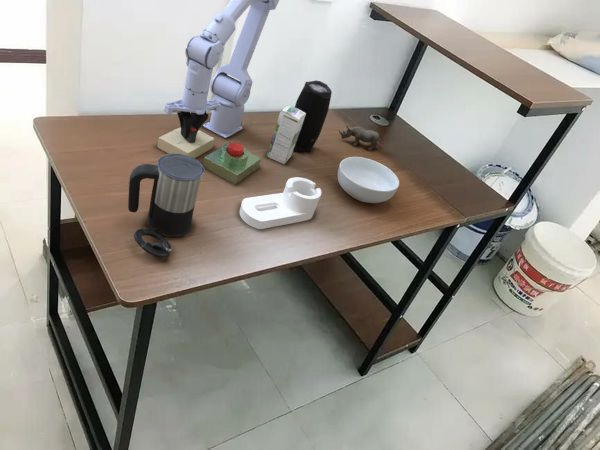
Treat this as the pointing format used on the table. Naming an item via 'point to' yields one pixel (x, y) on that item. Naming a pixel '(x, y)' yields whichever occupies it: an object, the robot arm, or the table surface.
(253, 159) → the push button base
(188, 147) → the dial panel
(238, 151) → the button
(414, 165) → the table surface
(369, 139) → the rhino figurine
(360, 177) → the cereal bowl
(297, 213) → the bracket
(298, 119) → the syrup box
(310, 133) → the portable speaker
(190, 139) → the block
